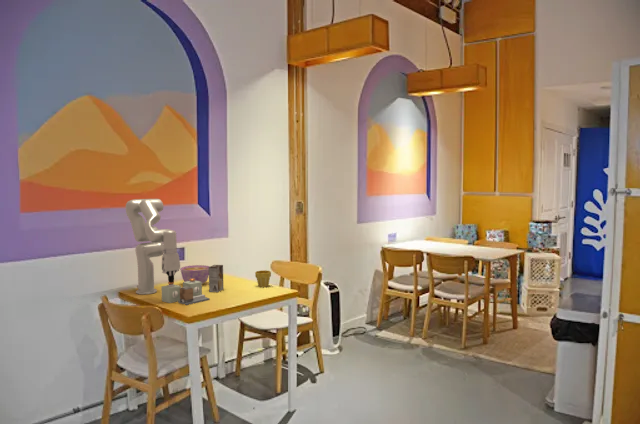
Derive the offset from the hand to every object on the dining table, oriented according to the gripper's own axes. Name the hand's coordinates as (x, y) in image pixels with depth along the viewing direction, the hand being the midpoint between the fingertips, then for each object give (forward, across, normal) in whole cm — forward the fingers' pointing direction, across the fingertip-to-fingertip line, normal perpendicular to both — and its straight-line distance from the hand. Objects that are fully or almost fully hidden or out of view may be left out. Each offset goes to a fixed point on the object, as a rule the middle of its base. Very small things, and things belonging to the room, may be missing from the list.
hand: (171, 281), depth 309 cm
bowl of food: (+11, +36, +26) cm, 46 cm away
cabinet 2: (+11, +15, 0) cm, 19 cm away
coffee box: (+12, +34, +1) cm, 36 cm away
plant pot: (+12, +62, -13) cm, 64 cm away
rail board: (+12, +8, -11) cm, 18 cm away
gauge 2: (+7, +15, 0) cm, 17 cm away
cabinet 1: (+11, 0, 0) cm, 11 cm away
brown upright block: (+10, +3, -11) cm, 15 cm away
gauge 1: (+7, 0, 0) cm, 7 cm away
